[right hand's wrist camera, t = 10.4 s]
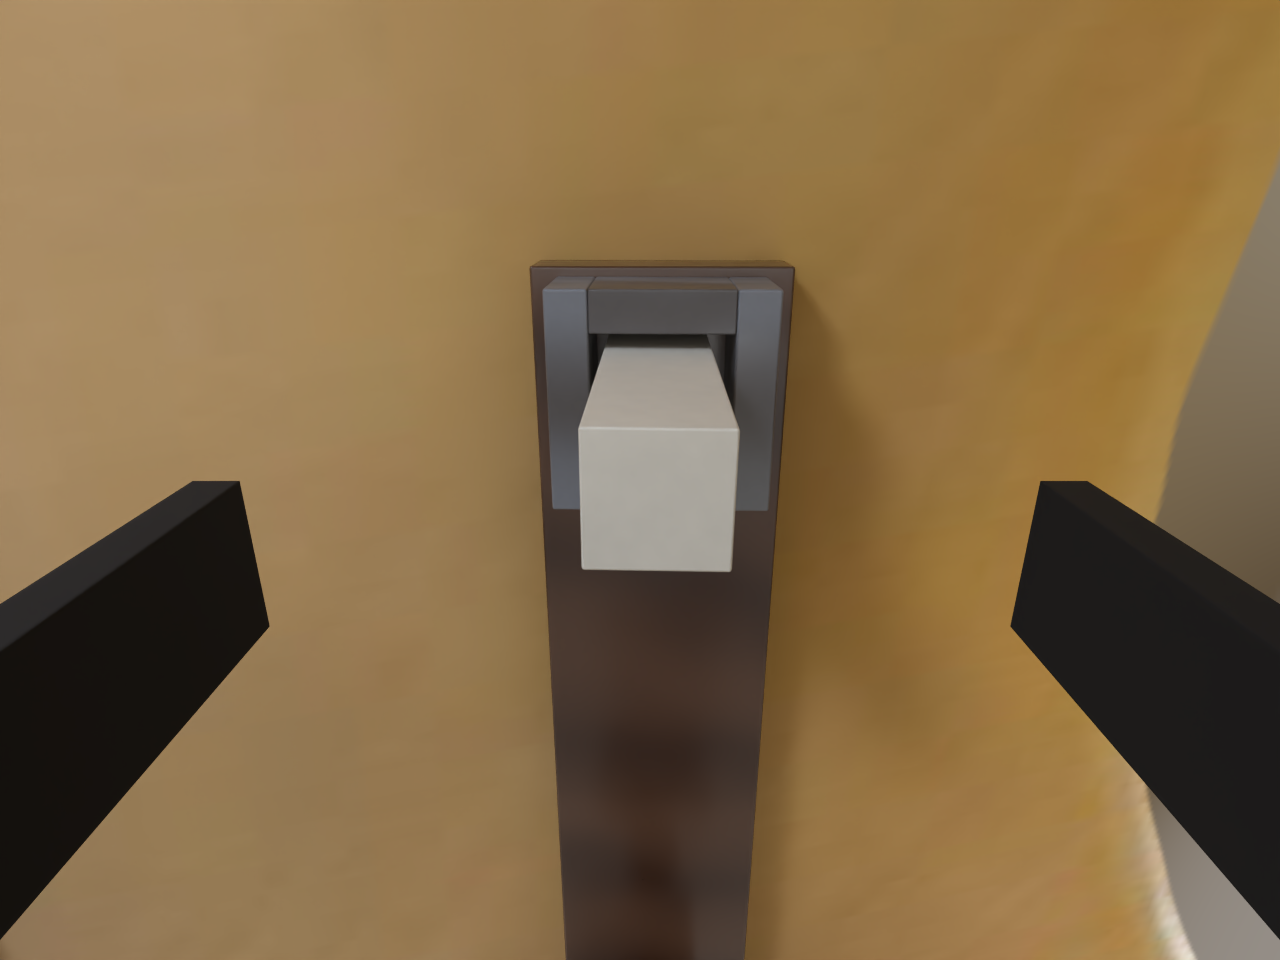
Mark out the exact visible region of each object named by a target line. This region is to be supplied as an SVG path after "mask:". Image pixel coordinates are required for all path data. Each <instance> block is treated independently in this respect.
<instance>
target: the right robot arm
mask: <svg viewBox="0 0 1280 960" xmlns="http://www.w3.org/2000/svg"><path fill="white" fill-rule="evenodd" d="M268 628H269V621H268V616H267V612H266V607H265V602H264V597H263V592H262V587H261V583H260V578H259V573H258V568H257V563H256V558H255V554H254V549H253V544H252V539H251V534H250V529H249V525H248V520H247V515H246V510H245V505H244V500H243V496H242V491H241V486H240V481H192V482H191V483H189V484H188V485H186V486H184V487H183V488H181V489H180V490H178V491H177V492H175V493H173V494H172V495H170V496H169V497H167V498H166V499H164V500H162V501H161V502H159V503H158V504H156V505H155V506H153V507H151V508H150V509H148V510H147V511H145V512H144V513H142V514H141V515H139V516H137V517H136V518H134V519H133V520H131V521H130V522H128V523H126V524H125V525H123V526H122V527H120V528H119V529H117V530H115V531H114V532H112V533H111V534H109V535H108V536H106V537H105V538H103V539H101V540H100V541H98V542H97V543H95V544H94V545H92V546H90V547H89V548H87V549H86V550H84V551H83V552H81V553H79V554H78V555H76V556H75V557H73V558H72V559H70V560H69V561H67V562H65V563H64V564H62V565H61V566H59V567H58V568H56V569H54V570H53V571H51V572H50V573H48V574H47V575H45V576H43V577H42V578H40V579H39V580H37V581H36V582H34V583H33V584H31V585H29V586H28V587H26V588H25V589H23V590H22V591H20V592H18V593H17V594H15V595H14V596H12V597H11V598H9V599H7V600H6V601H4V602H3V603H1V604H0V939H1V938H2V937H3V936H4V935H5V934H6V932H7V931H8V930H9V929H10V928H11V927H12V925H13V924H14V923H15V922H16V921H17V920H18V918H19V917H20V916H21V915H22V914H23V913H24V911H25V910H26V909H27V908H28V907H29V906H30V904H31V903H32V902H33V901H34V900H35V899H36V897H37V896H38V895H39V894H40V893H41V892H42V890H43V889H44V888H45V887H46V886H47V885H48V884H49V882H50V881H51V880H52V879H53V878H54V877H55V875H56V874H57V873H58V872H59V871H60V870H61V868H62V867H63V866H64V865H65V864H66V863H67V861H68V860H69V859H70V858H71V857H72V856H73V854H74V853H75V852H76V851H77V850H78V849H79V847H80V846H81V845H82V844H83V843H84V842H85V840H86V839H87V838H88V837H89V836H90V835H91V833H92V832H93V831H94V830H95V829H96V828H97V827H98V825H99V824H100V823H101V822H102V821H103V820H104V818H105V817H106V816H107V815H108V814H109V813H110V811H111V810H112V809H113V808H114V807H115V806H116V804H117V803H118V802H119V801H120V800H121V799H122V797H123V796H124V795H125V794H126V793H127V792H128V790H129V789H130V788H131V787H132V786H133V785H134V783H135V782H136V781H137V780H138V779H139V778H140V777H141V775H142V774H143V773H144V772H145V771H146V770H147V768H148V767H149V766H150V765H151V764H152V763H153V761H154V760H155V759H156V758H157V757H158V756H159V754H160V753H161V752H162V751H163V750H164V749H165V747H166V746H167V745H168V744H169V743H170V742H171V740H172V739H173V738H174V737H175V736H176V735H177V733H178V732H179V731H180V730H181V729H182V728H183V726H184V725H185V724H186V723H187V722H188V721H189V720H190V718H191V717H192V716H193V715H194V714H195V713H196V711H197V710H198V709H199V708H200V707H201V706H202V704H203V703H204V702H205V701H206V700H207V699H208V697H209V696H210V695H211V694H212V693H213V692H214V690H215V689H216V688H217V687H218V686H219V685H220V683H221V682H222V681H223V680H224V679H225V678H226V676H227V675H228V674H229V673H230V672H231V671H232V669H233V668H234V667H235V666H236V665H237V664H238V663H239V661H240V660H241V659H242V658H243V657H244V656H245V654H246V653H247V652H248V651H249V650H250V649H251V647H252V646H253V645H254V644H255V643H256V642H257V640H258V639H259V638H260V637H261V636H262V635H263V633H264V632H265V631H266V630H267V629H268ZM1011 628H1012V629H1013V630H1014V631H1015V632H1016V633H1017V635H1018V636H1019V637H1020V638H1021V639H1022V640H1023V642H1024V643H1025V644H1026V645H1027V646H1028V647H1029V649H1030V650H1031V651H1032V652H1033V653H1034V654H1035V656H1036V657H1037V658H1038V659H1039V660H1040V661H1041V663H1042V664H1043V665H1044V666H1045V667H1046V668H1047V669H1048V671H1049V672H1050V673H1051V674H1052V675H1053V676H1054V678H1055V679H1056V680H1057V681H1058V682H1059V683H1060V685H1061V686H1062V687H1063V688H1064V689H1065V690H1066V692H1067V693H1068V694H1069V695H1070V696H1071V697H1072V699H1073V700H1074V701H1075V702H1076V703H1077V704H1078V706H1079V707H1080V708H1081V709H1082V710H1083V711H1084V713H1085V714H1086V715H1087V716H1088V717H1089V718H1090V720H1091V721H1092V722H1093V723H1094V724H1095V725H1096V726H1097V728H1098V729H1099V730H1100V731H1101V732H1102V733H1103V735H1104V736H1105V737H1106V738H1107V739H1108V740H1109V742H1110V743H1111V744H1112V745H1113V746H1114V747H1115V749H1116V750H1117V751H1118V752H1119V753H1120V754H1121V756H1122V757H1123V758H1124V759H1125V760H1126V761H1127V763H1128V764H1129V765H1130V766H1131V767H1132V768H1133V770H1134V771H1135V772H1136V773H1137V774H1138V775H1139V777H1140V778H1141V779H1142V780H1143V781H1144V782H1145V783H1146V785H1147V786H1148V787H1149V788H1150V789H1151V790H1152V792H1153V793H1154V794H1155V795H1156V796H1157V797H1158V799H1159V800H1160V801H1161V802H1162V803H1163V804H1164V806H1165V807H1166V808H1167V809H1168V810H1169V811H1170V813H1171V814H1172V815H1173V816H1174V817H1175V818H1176V819H1177V821H1178V822H1179V823H1180V824H1181V825H1182V827H1183V828H1184V829H1185V830H1186V831H1187V832H1188V833H1189V835H1190V836H1191V837H1192V838H1193V839H1194V840H1195V842H1196V843H1197V844H1198V845H1199V846H1200V847H1201V849H1202V850H1203V851H1204V852H1205V853H1206V854H1207V856H1208V857H1209V858H1210V859H1211V860H1212V861H1213V863H1214V864H1215V865H1216V866H1217V867H1218V868H1219V870H1220V871H1221V872H1222V873H1223V874H1224V875H1225V877H1226V878H1227V879H1228V880H1229V881H1230V882H1231V883H1232V885H1233V886H1234V887H1235V888H1236V889H1237V890H1238V892H1239V893H1240V894H1241V895H1242V896H1243V897H1244V899H1245V900H1246V901H1247V902H1248V903H1249V904H1250V906H1251V907H1252V908H1253V909H1254V910H1255V911H1256V913H1257V914H1258V915H1259V916H1260V917H1261V918H1262V920H1263V921H1264V922H1265V923H1266V924H1267V925H1268V927H1269V928H1270V929H1271V930H1272V931H1273V932H1274V934H1275V935H1276V936H1277V937H1278V938H1279V939H1280V604H1279V603H1277V602H1276V601H1274V600H1273V599H1271V598H1269V597H1268V596H1266V595H1265V594H1263V593H1262V592H1260V591H1258V590H1257V589H1255V588H1254V587H1252V586H1251V585H1249V584H1247V583H1246V582H1244V581H1243V580H1241V579H1240V578H1238V577H1237V576H1235V575H1233V574H1232V573H1230V572H1229V571H1227V570H1226V569H1224V568H1222V567H1221V566H1219V565H1218V564H1216V563H1215V562H1213V561H1211V560H1210V559H1208V558H1207V557H1205V556H1204V555H1202V554H1201V553H1199V552H1197V551H1196V550H1194V549H1193V548H1191V547H1190V546H1188V545H1186V544H1185V543H1183V542H1182V541H1180V540H1179V539H1177V538H1175V537H1174V536H1172V535H1171V534H1169V533H1168V532H1166V531H1165V530H1163V529H1161V528H1160V527H1158V526H1157V525H1155V524H1154V523H1152V522H1150V521H1149V520H1147V519H1146V518H1144V517H1143V516H1141V515H1139V514H1138V513H1136V512H1135V511H1133V510H1132V509H1130V508H1129V507H1127V506H1125V505H1124V504H1122V503H1121V502H1119V501H1118V500H1116V499H1114V498H1113V497H1111V496H1110V495H1108V494H1107V493H1105V492H1103V491H1102V490H1100V489H1099V488H1097V487H1096V486H1094V485H1092V484H1091V483H1089V482H1088V481H1040V486H1039V491H1038V496H1037V500H1036V505H1035V510H1034V515H1033V520H1032V525H1031V529H1030V534H1029V539H1028V544H1027V549H1026V554H1025V558H1024V563H1023V568H1022V573H1021V578H1020V583H1019V587H1018V592H1017V597H1016V602H1015V607H1014V612H1013V616H1012V621H1011Z"/></svg>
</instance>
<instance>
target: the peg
mask: <svg viewBox="0 0 1280 960" xmlns="http://www.w3.org/2000/svg"><path fill="white" fill-rule="evenodd" d="M578 440H579V481H580V522H581V563H582V569H584V570H633V571H695V572H731V570H732V559H733V542H734V525H735V508H736V491H737V474H738V457H739V440H740V430H739V427H738V424H737V421H736V418H735V415H734V412H733V409H732V407H731V404H730V401H729V398H728V395H727V392H726V389H725V386H724V383H723V381H722V378H721V375H720V372H719V369H718V366H717V363H716V360H715V357H714V355H713V352H712V349H711V346H710V343H709V340H708V337H707V334H609V336H608V339H607V342H606V345H605V348H604V351H603V354H602V357H601V360H600V364H599V367H598V370H597V373H596V376H595V379H594V382H593V385H592V388H591V391H590V394H589V397H588V401H587V404H586V407H585V410H584V413H583V416H582V419H581V422H580V425H579V428H578Z"/></svg>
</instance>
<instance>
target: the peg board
mask: <svg viewBox="0 0 1280 960" xmlns="http://www.w3.org/2000/svg"><path fill="white" fill-rule="evenodd" d="M794 277H795V267H793V266H792V265H790V264H788V263H786V262H784V261H613V260H541V261H539V262H537V263H535V264H534V265H532V266H531V267H530V283H531V302H532V321H533V341H534V360H535V379H536V398H537V417H538V436H539V455H540V474H541V493H542V512H543V532H544V551H545V570H546V589H547V608H548V627H549V646H550V665H551V684H552V703H553V722H554V742H555V761H556V780H557V799H558V818H559V837H560V856H561V875H562V894H563V913H564V932H565V952H566V960H744V955H745V941H746V928H747V914H748V901H749V887H750V874H751V860H752V847H753V833H754V819H755V806H756V792H757V779H758V765H759V752H760V738H761V724H762V711H763V697H764V684H765V670H766V657H767V643H768V630H769V616H770V602H771V589H772V575H773V562H774V548H775V535H776V521H777V507H778V494H779V480H780V467H781V453H782V440H783V426H784V413H785V399H786V385H787V372H788V358H789V345H790V331H791V318H792V304H793V290H794ZM609 334H707V337H708V340H709V343H710V346H711V349H712V352H713V355H714V357H715V360H716V363H717V366H718V369H719V372H720V375H721V378H722V381H723V383H724V386H725V389H726V392H727V395H728V398H729V401H730V404H731V407H732V409H733V412H734V415H735V418H736V421H737V424H738V427H739V430H740V440H739V457H738V474H737V491H736V508H735V525H734V542H733V559H732V570H731V572H695V571H633V570H584V569H582V563H581V522H580V481H579V440H578V428H579V425H580V422H581V419H582V416H583V413H584V410H585V407H586V404H587V401H588V397H589V394H590V391H591V388H592V385H593V382H594V379H595V376H596V373H597V370H598V367H599V364H600V360H601V357H602V354H603V351H604V348H605V345H606V342H607V339H608V336H609Z"/></svg>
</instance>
